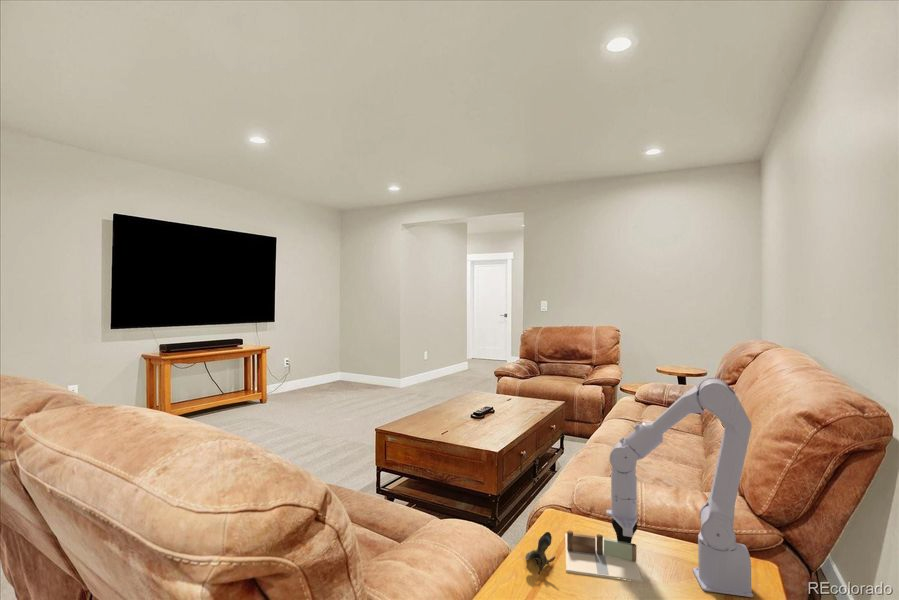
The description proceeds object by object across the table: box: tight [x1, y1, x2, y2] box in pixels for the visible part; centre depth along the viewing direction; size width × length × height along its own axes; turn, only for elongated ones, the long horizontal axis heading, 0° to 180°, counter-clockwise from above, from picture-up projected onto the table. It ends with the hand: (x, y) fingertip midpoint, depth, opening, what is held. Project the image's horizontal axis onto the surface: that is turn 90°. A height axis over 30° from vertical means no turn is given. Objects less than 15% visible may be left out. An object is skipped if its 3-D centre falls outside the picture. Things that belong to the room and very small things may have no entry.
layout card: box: [564, 532, 643, 583], centre depth 107 cm, size 16×17×1 cm
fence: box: [566, 530, 604, 555], centre depth 108 cm, size 8×1×4 cm, turn 76°
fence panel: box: [603, 537, 637, 562], centre depth 106 cm, size 7×1×4 cm, turn 65°
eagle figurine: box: [525, 531, 556, 575], centre depth 104 cm, size 8×7×9 cm
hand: (624, 551), depth 106 cm, fingers closed, pressing on fence panel
